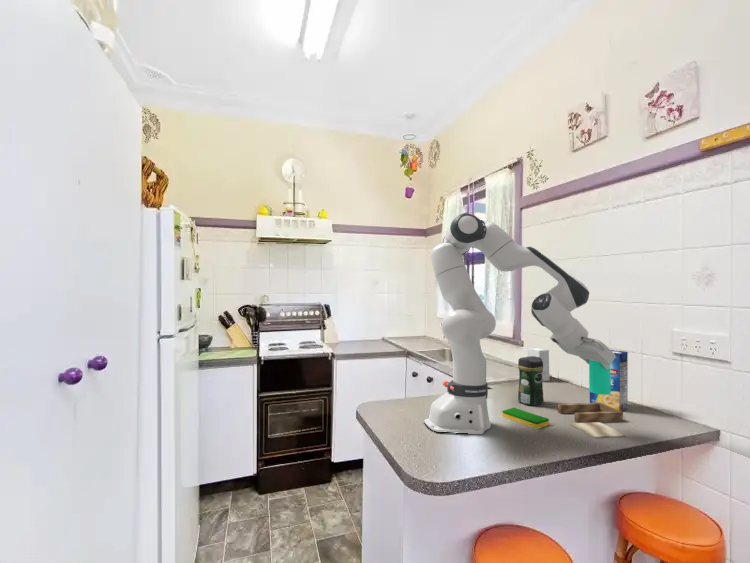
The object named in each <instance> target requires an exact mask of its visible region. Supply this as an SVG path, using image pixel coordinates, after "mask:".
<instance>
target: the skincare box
mask: <svg viewBox="0 0 750 563" xmlns="http://www.w3.org/2000/svg"><path fill="white" fill-rule="evenodd" d="M549 353H550V350H549V349H545V348H539V347H532V348H531V347H530V348H527V357H530V356H535V357H540V358H541V359H542V361H543V371H542V383H544V382H549V381H551V380H550V354H549Z"/></svg>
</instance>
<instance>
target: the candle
mask: <svg viewBox="0 0 750 563" xmlns="http://www.w3.org/2000/svg"><path fill="white" fill-rule="evenodd" d="M588 367H589V368H588V372H589V374H588V375H589V376H588V379H589V380H588V381H589V382H588V384H589V388H588V389H589V390H588V391H589V393H590V392H592V393H596V394H602V395H610V394H611V374H610V368H609V369H604V368H603V367H602V366H601V363H600V362H597V361H594V360H590V359H589V364H588Z"/></svg>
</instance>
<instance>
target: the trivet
mask: <svg viewBox="0 0 750 563" xmlns="http://www.w3.org/2000/svg"><path fill="white" fill-rule="evenodd" d="M570 425H571V426H573V427H574V428H576V429H577V430H580V431H581V432H583V433H585V434H587V435H589V436H590V437H592V438H594V439H600V438H619V437H621V438H622V437H624V438H625V437H627V434H625V433H622V432H621V431H618V430H617V429H615V428H612V427H611V426H608V425H607V424H605V423H604V422H587V423H577V422H574V423H573V422H572V423H570Z"/></svg>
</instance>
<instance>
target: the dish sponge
mask: <svg viewBox="0 0 750 563" xmlns="http://www.w3.org/2000/svg"><path fill="white" fill-rule="evenodd" d="M501 412H502V414H501V416H502V417H503V418H505V417H506V418H505V419H509V420H512V421H514V422H517V423H520V424H523V425H525V426H529V427H531V428H534V429H536V430H537V429H541V428H543V427H547V426H549V425H550V419H549V418H547V417H543V416H542V415H538V414H535V413H532V412H530V411H529V412H528V411H525V410H523V409H520V408H518V407H511V408H507V409H503V410H502V411H501Z"/></svg>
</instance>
